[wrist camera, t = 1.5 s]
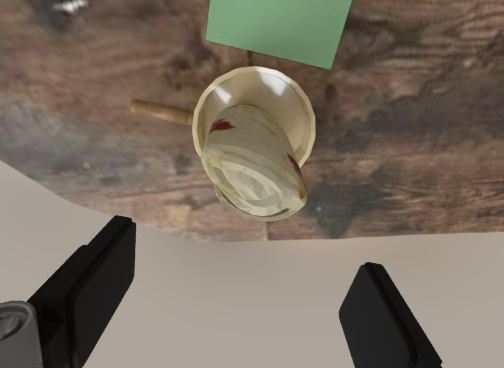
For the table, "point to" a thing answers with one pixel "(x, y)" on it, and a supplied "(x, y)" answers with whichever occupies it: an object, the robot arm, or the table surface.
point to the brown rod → (161, 112)
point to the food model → (253, 165)
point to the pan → (259, 105)
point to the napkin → (280, 27)
